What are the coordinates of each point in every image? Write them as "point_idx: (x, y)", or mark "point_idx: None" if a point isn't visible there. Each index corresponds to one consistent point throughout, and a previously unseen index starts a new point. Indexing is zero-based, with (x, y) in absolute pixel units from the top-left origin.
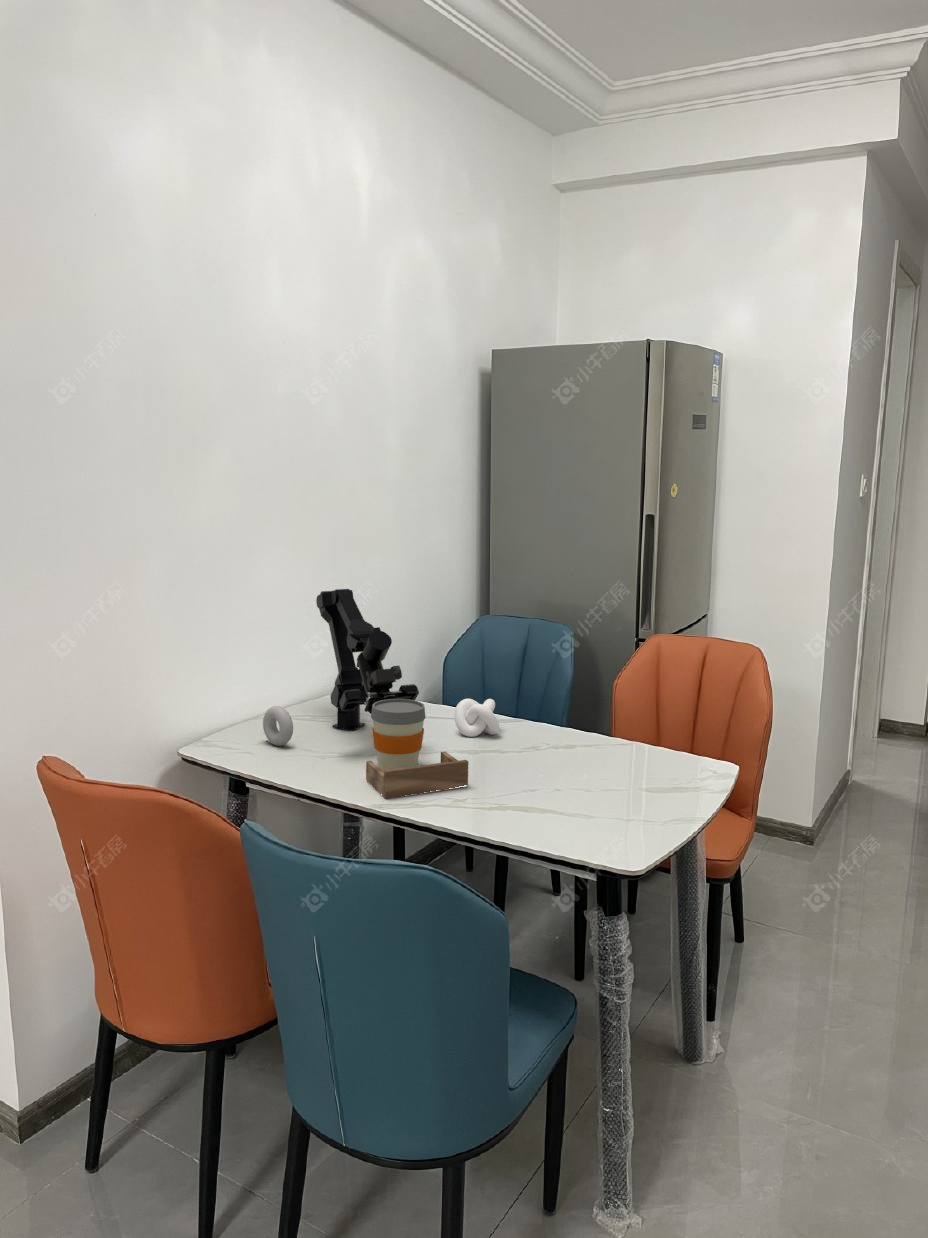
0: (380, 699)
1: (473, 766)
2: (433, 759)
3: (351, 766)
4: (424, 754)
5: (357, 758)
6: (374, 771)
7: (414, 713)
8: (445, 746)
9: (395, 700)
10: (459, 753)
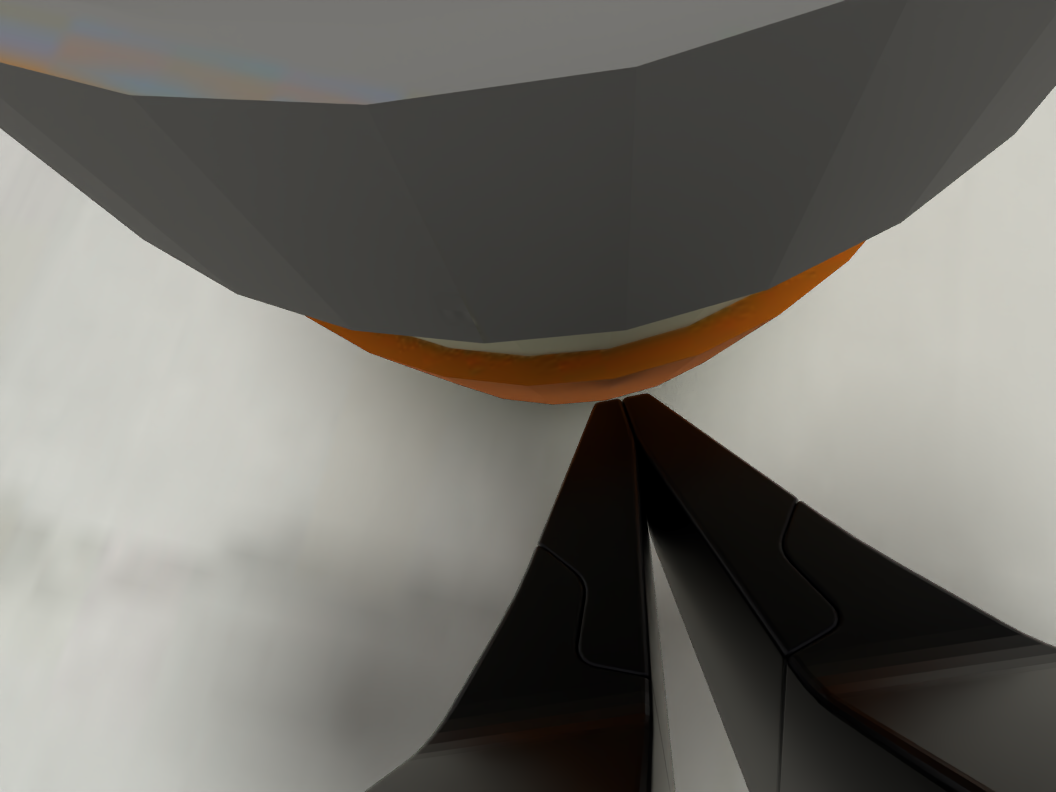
0: (1046, 771)
1: (68, 219)
2: (266, 402)
3: (945, 344)
4: (294, 535)
5: (880, 545)
6: None
7: None
8: (68, 712)
9: (355, 58)
10: (40, 505)
